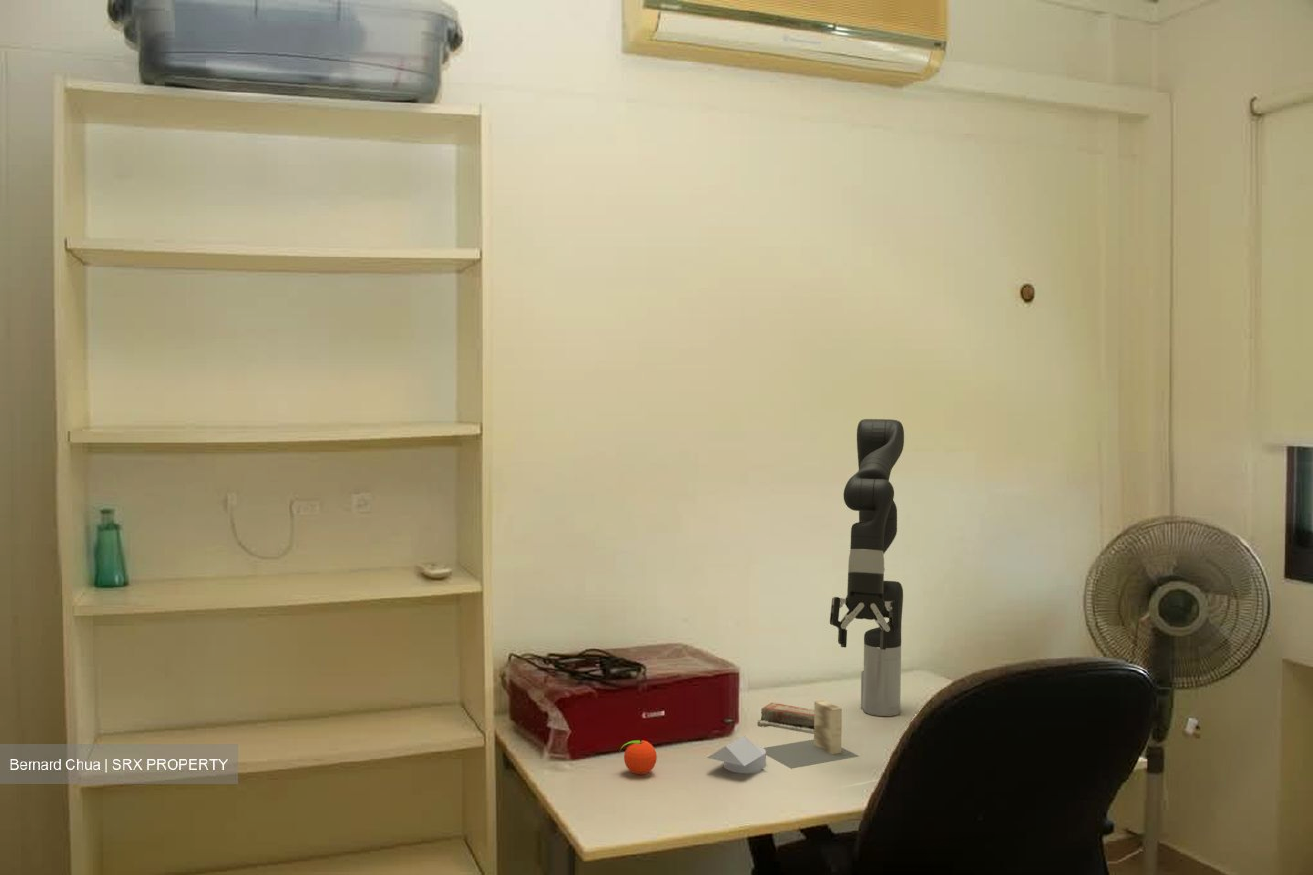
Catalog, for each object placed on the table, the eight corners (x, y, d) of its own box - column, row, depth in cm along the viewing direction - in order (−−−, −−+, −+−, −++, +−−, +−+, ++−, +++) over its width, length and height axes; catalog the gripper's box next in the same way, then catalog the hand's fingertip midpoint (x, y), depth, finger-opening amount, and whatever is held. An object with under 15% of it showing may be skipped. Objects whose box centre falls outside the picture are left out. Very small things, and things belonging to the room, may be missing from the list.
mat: (755, 751, 246) (755, 749, 246) (821, 740, 254) (821, 737, 254) (791, 770, 234) (791, 768, 234) (859, 758, 242) (859, 755, 242)
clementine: (618, 778, 228) (618, 745, 228) (619, 767, 235) (619, 734, 235) (656, 779, 228) (656, 745, 228) (656, 767, 235) (657, 735, 235)
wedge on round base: (744, 781, 227) (772, 764, 238) (744, 749, 227) (773, 733, 238) (706, 773, 232) (736, 756, 243) (707, 742, 232) (736, 726, 243)
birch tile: (813, 745, 249) (814, 701, 249) (823, 743, 250) (823, 700, 250) (832, 754, 243) (832, 709, 242) (841, 752, 244) (842, 708, 244)
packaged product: (756, 707, 265) (773, 698, 274) (755, 727, 265) (773, 717, 274) (825, 719, 256) (841, 709, 264) (825, 740, 256) (841, 729, 264)
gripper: (893, 573, 239) (890, 649, 237) (829, 569, 238) (825, 645, 236) (903, 573, 232) (901, 651, 229) (837, 568, 231) (834, 647, 228)
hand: (863, 648), depth 233 cm, fingers open, 8 cm apart
